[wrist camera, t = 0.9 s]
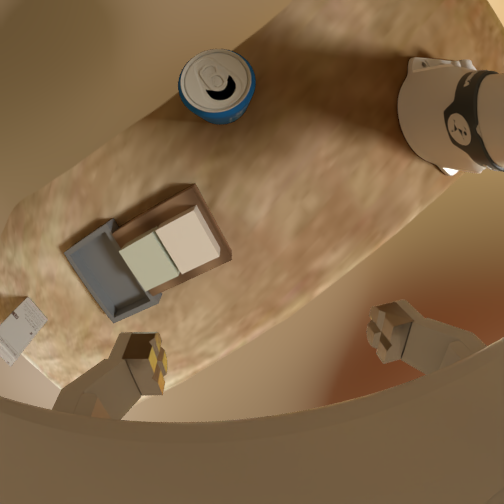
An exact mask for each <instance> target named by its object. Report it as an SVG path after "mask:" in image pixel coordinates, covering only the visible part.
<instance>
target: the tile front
mask: <svg viewBox="0 0 504 504" xmlns="http://www.w3.org/2000/svg"><path fill="white" fill-rule="evenodd" d="M155 231H156V233H157V235H158V236H159V238H160V240H161V241H162V243H163V245H164V246H165V248H166V250H167V251H168V253H169V254H170V256H171V258H172V259H173V261H174V263H175V264H176V266H177V267H178V269H179V270H180V272H181V274H184V273H186V272H188V271H190V270H192V269H194V268H196V267H198V266H200V265H203V264H205V263H207V262H209V261H211V260H213V259H215V258H217V257H219V256H220V247H219V245H218V243H217V241H216V240H215V238H214V236H213V234H212V232H211V231H210V229H209V227H208V225H207V223H206V221H205V220H204V218H203V216H202V214H201V212H200V211H199V209H198V207H197V205H195V206H193V207H191V208H189V209H188V210H186V211H184V212H182V213H180V214H178V215H176V216H174V217H173V218H171V219H169V220H167V221H165V222H163V223H161V224H160V225H159V227H158V228H157V229H156V230H155Z"/></svg>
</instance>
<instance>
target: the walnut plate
mask: <svg viewBox="0 0 504 504" xmlns="http://www.w3.org/2000/svg"><path fill="white" fill-rule="evenodd" d="M195 205H197V207H198V209H199V211H200V212H201V214H202V216H203V218H204V220H205V221H206V223H207V225H208V227H209V229H210V231H211V232H212V234H213V236H214V238H215V240H216V241H217V243H218V245H219V247H220V256H219V257H217V258H215V259H213V260H211V261H209V262H207V263H205V264H203V265H200V266H198V267H196V268H194V269H192V270H190V271H188V272H186V273H184V274H181V272H180V273H179V276H177V277H175V278H173V279H171V280H169V281H167V282H165V283H162V284H160V285H158V286H156V287H154V288H152V289H150V290H149V292H150V293H151V295H152V296H155V295H157V294H159V293H161V292H163V291H165V290H168V289H170V288H172V287H174V286H176V285H178V284H181V283H183V282H185V281H187V280H189V279H191V278H194V277H196V276H198V275H200V274H202V273H204V272H207V271H209V270H211V269H213V268H215V267H217V266H220V265H222V264H224V263H226V262H228V261H230V260H232V250H231V249H230V247H229V245H228V243H227V241H226V239H225V238H224V236H223V234H222V232H221V230H220V228H219V227H218V225H217V223H216V221H215V219H214V217H213V215H212V214H211V212H210V210H209V208H208V206H207V204H206V202H205V201H204V199H203V197H202V195H201V193H200V191H199V189H198V187H197V186H196V184H194V185H192V186H190V187H188V188H186V189H184V190H183V191H181V192H179V193H177V194H175V195H173V196H172V197H170V198H168V199H166V200H164V201H163V202H161V203H159V204H157V205H156V206H154V207H152V208H150V209H149V210H147V211H145V212H143V213H142V214H140V215H138V216H137V217H135V218H133V219H132V220H130V221H128V222H127V223H125V224H123V225H122V226H120V227H119V228H118V229H117V230H116V231H115V232H113V233H112V235H113V237H114V238H115V240H116V242H117V243H118V245H119V247H120V248H122V247H123V246H124V245H125V244H126V243H128V242H130V241H131V240H133V239H135V238H136V237H138V236H140V235H142V234H144V233H145V232H147V231H149V230H151V229H152V228H154V227H156V226H157V227H159V225H160V224H161V223H163V222H165V221H167V220H169V219H171V218H173V217H174V216H176V215H178V214H180V213H182V212H184V211H186V210H188V209H189V208H191V207H193V206H195Z"/></svg>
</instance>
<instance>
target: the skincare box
mask: <svg viewBox="0 0 504 504" xmlns="http://www.w3.org/2000/svg"><path fill="white" fill-rule="evenodd" d="M46 322H47V318H46V317H45V316H44V315H43V313H42V312H41V311H40V310H39V309H38V308H37V306H36V305H35V304H34V303H33V302H32V300H31V299H30V298H28V297H27V298H26V299H25V300H24V301H23V302H22V303H21V304H20V305H19V306H18V307H17V308H16V309H15V310H14V311H13V312H12V313H11V314H10V315H9V316H8V317H7V318H6V319H5V320H4V321H3V322H2V323H1V324H0V357H1V358H3V359H4V361H5V362H6V363H7V364H8V365H9V366H12V365H13V363H14V362H15V361H16V360H17V359H18V357H19V356H20V354H21V353H22V352H23V351H24V349H25V348H26V347H27V346H28V344H29V343H30V342H31V340H32V339H33V338H34V336H35V335H36V334H37V333H38V331H39V330H40V329H41V328H42V326H43V325H44V324H45V323H46Z"/></svg>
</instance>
